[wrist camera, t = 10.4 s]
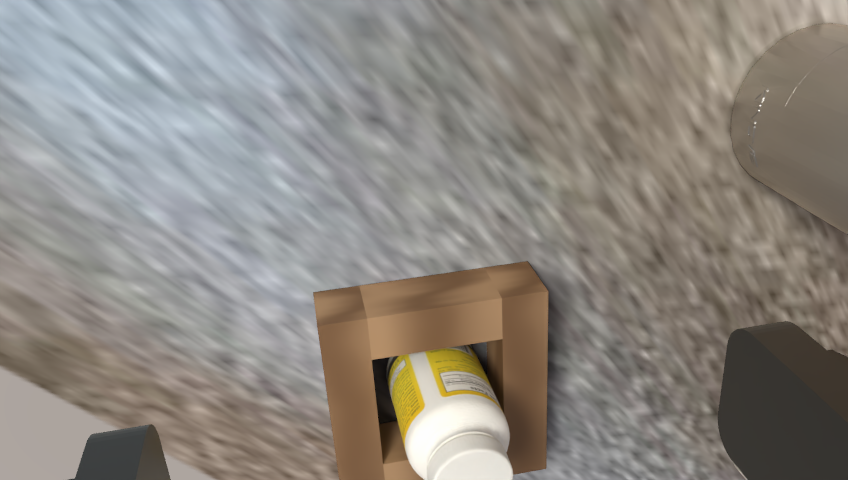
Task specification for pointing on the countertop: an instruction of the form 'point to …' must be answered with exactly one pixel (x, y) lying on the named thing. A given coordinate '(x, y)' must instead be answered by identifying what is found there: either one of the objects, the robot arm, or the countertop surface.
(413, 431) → the supplement bottle
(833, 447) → the robot arm
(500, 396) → the socket block
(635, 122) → the countertop surface
